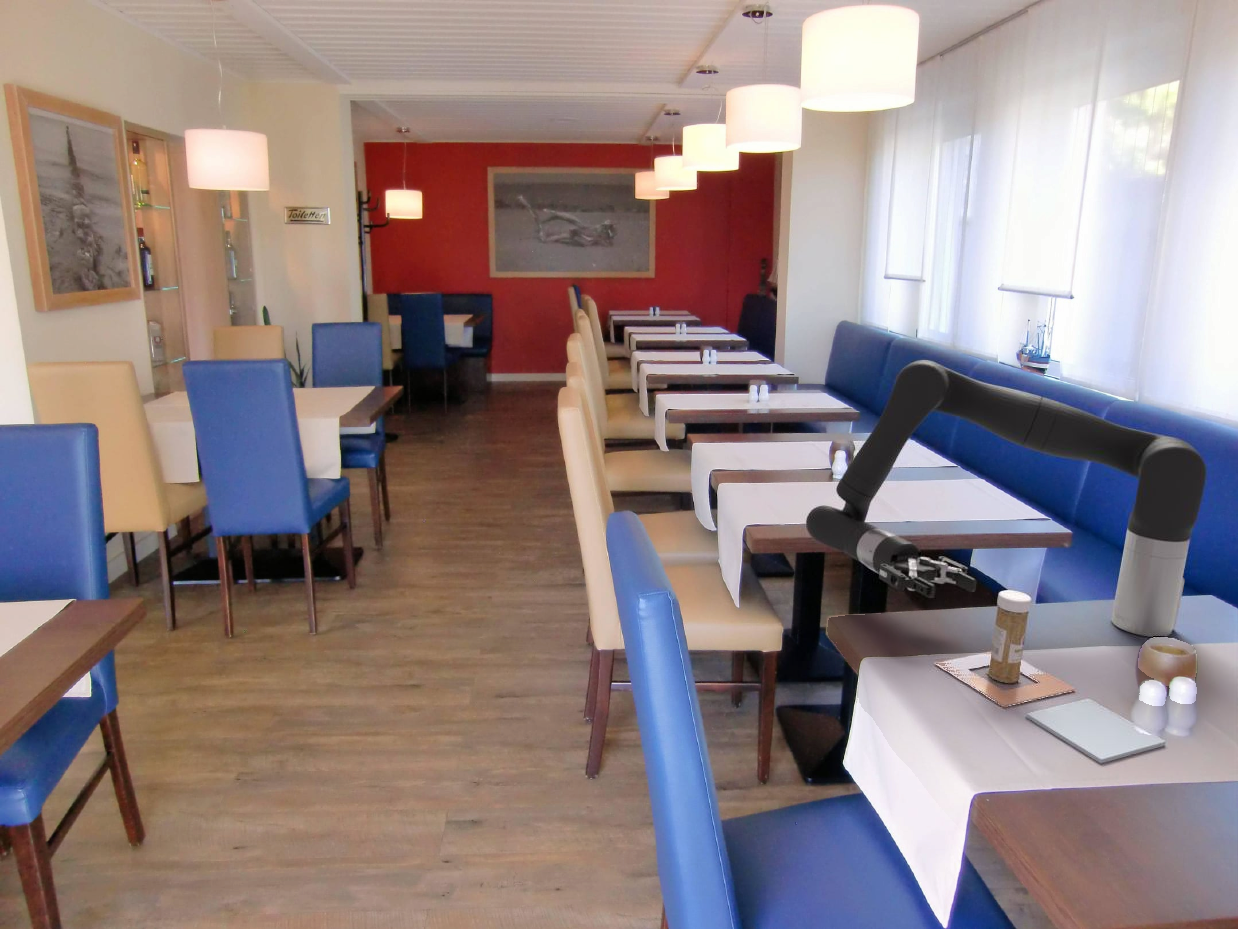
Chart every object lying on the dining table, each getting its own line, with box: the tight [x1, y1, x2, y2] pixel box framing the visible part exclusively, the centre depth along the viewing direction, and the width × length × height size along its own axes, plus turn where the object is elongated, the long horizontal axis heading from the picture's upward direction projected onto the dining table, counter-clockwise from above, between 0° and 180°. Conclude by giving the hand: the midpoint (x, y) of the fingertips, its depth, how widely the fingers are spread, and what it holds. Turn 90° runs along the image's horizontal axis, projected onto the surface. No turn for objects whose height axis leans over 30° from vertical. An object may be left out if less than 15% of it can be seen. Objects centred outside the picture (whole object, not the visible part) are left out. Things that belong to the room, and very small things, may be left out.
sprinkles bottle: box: [987, 589, 1032, 684], centre depth 133 cm, size 5×5×13 cm
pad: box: [1025, 698, 1166, 765], centre depth 120 cm, size 12×12×1 cm
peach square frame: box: [936, 651, 1076, 708], centre depth 135 cm, size 14×14×1 cm
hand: (954, 589), depth 143 cm, fingers open, 8 cm apart
